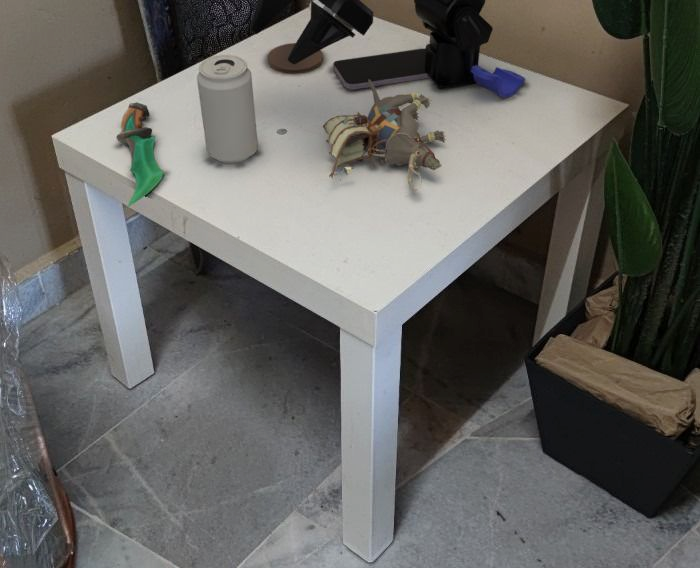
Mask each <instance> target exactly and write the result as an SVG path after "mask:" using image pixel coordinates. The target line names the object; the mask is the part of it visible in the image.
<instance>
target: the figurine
mask: <svg viewBox="0 0 700 568" xmlns="http://www.w3.org/2000/svg"><path fill="white" fill-rule="evenodd" d="M368 82H369V84H370V87H369V88H370V89H371V91H372V96H373V105H372V106H371V107H370V111H368V114H367V115H365V114H363V115H362V114H360V112H359V111H357V113H356V114H346V115H345V114H344V115H337V116H334V117H331V118H329V119H328V120H327V121H325V122H324V124H323V125H322V128H323V130H324V132H325V133H326V134H327V136H329V137H328V139H326V140H325V142H326V143H327V144H331V148H330V151H329V152H328V154H329V155H330V156H334V158H335V160H334V164H333V168H332V172H331V173H330V174H329V175H328V177H329V178H331V179H332V180H333V179H334V176H337V175H339V174H343V173H344V174H345V175H346V176H348V175H349V174H350V173H352V171H353V170H354V167H351V166H344V165H348V164H350V163H351V164H352V163H354V162H363V161H364V160H365V159H369V161H370V163H371V165H372V167H374V166H375V165H374V162H373V161H372V157H373V156H375V157H379V159H380V161H381V164H384V161H383V159H382V157H384V160H385V162H386V163H387V164H388V165H391V166H392V165H394V166H397V167H402V166H407V165H408V171H407V183H408V184H409V187H410V189H412V191H414V193H415V194H418V192H417V190H419V189H420V188H421V186H422V182H423V179H422V177H421V174H420V172H419V171H416V170H415V169H419V168H420V167H423V168H425V169H427V168H428V169H429V170H433V171H434V170H435V171H436V170H438V169H439V168H441V167H442V164H441V162H440V160H439V159H438V158H437V157H436V155H435V153H434V152H433V151H432V150H431V148H430V147H428V145H426V144H425V143H428V142H429V143H433V142H434V141H439V142H441V143H444V144H446V141H447V139H446V137H447V136H446V135H445V133H446V132H445V131H441V130H440V131H439V130H435V131H429V132H428V133H427V134H425V135H423V136H420V133H419V132H418V131H419V122H418V121H419V118H420V116H419V115H420V113H419V112H418V111H419V110H421V107H422V106H424V108H425V109H429V108H430V107H431V101H432V100H431V99H430V96H425V95H424V94H422V93H420V94H418V93H417V92H412V93H411V92H410V93H406V94H396V95H393V96H385V97H383V98H381V99H380V97H379V94H378V92H377V89H376V86H374V85H373V83H372V82H371V80H370V79H368ZM407 104H408V105H407ZM404 105H406V106H405V107H403V106H404ZM400 107H403V108H402V109H400ZM378 147H380V148H381V149H379V148H378ZM382 148H383V149H382ZM380 152H382V153H380ZM342 166H343V171H340V172H336V171H337V169H339V168H340V167H342ZM413 173H414V174H415V175H416V176H419V177H418V178H419V179H420V182H419V183H420V184H419V186H417V187H416V188H415V187H414V185H413Z"/></svg>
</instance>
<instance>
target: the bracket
mask: <svg viewBox="0 0 700 568" xmlns="http://www.w3.org/2000/svg"><path fill="white" fill-rule="evenodd" d="M471 72H472V73H473V77H474V80H475V82H476V83H477V84H478V85H479V86H482V87H483V88H485V89H487V90H489V91H491V92H493V93H494V94H496V95H498V96H499V97H502V98H505V99H506V98H509V97H512V96H513V95H515V94H516V93H517V91H518V90H519V89H520V88H521V86H522V85H523V84H524V83H525V81H526V78H525V76H522V75H521V74H519V73H517V72H514V71H512V70H509V69H505V68H500V67H495V69H494V70H493V72H491V71H490V70H488V69H486V68H484V67H482V66H480V65H479V64H478V65H475V66H472V69H471Z"/></svg>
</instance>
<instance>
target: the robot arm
mask: <svg viewBox="0 0 700 568" xmlns="http://www.w3.org/2000/svg"><path fill="white" fill-rule="evenodd" d="M294 1H295V0H257V2H256V4H255V9H254V12H253V16H252V19H251V22H250V25H249V30H250V31H251V32H252V33H253V34H255V35H258V34H259V33H260V32H262V31H263V30H264V29H265V28H266V27H268V25H270V23H272V22H273V21H274V20H275V19H276V18H277V17H278V16H279V15H280V14H282V12H283V11H285V10H286V9H287V7H288V6H289V5H290V4H292V3H293V2H294ZM317 2H319V3H321V4H322V5H323V6H320V5H319V4H318V3H316V2H314V1H313V0H311V1H310V18H309V20H308V22H307V24H306V26H305V27H304V28H303V30H302V32H301V34H300V35H299V37H298V38H297V40H296V42H295V43H296V44H295V45H294V47H293V49H292V51H291V53H290V55H289V57H288V61H289V62H290V63H292V64H297V63H298V62H300V61H302V60H304V59H305V58H307V57H309V56H311V55H313V54H314V53H316V52H318V51H320V50H321V51H322V50H323V49H325V48H328V47H329V46H330V45H333V44H335V43H337V42H339V41H342V40H344V39H346V38H348V37H350V38H354V37H355V36H356V33H355V32H358V34H360V35H361V36H363V37H364V36H365V35H366V33H367V32H368V31H369V29H370V28H371V27H372V25H373V23H374V11H373V10H372V9H371V8H369V6H367V5H366V4H365V3H363V1H361V0H317ZM413 3H414V11H415V13H416V16H417V17H418V18H419V20H421V22H422V26H423V28H425V29H427V30H429V31H431V32H429V43H427V44H426V45H425V49H426V56H425V72H426V73H427V75H428V76H429V77H430V78H429V79H430V80H431V81H432V82H433V84H434V85H435V87H436V88H437V89H439V90H444V89H451V88H456V87H457V88H458V87H463V86H464V87H465V86H470V85H477V84H478V83H476V82H475V80H474V77H473V73H472V72H471V69H472V66H475V65H478V66H479V64H480V63H479V61H480V54H481V53H480V51H481V46H482V45H485V44H487V43H489V40H490V38H491V35H492V32H493V29H494V27H493V26H492V25H491V24H490V23H489V22H488V21H486V19H485V18H484V17H482V16H481V15H480V14H481V13H482V9H483V8H484V6H485V4H486V0H413ZM353 31H355V32H353Z"/></svg>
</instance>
